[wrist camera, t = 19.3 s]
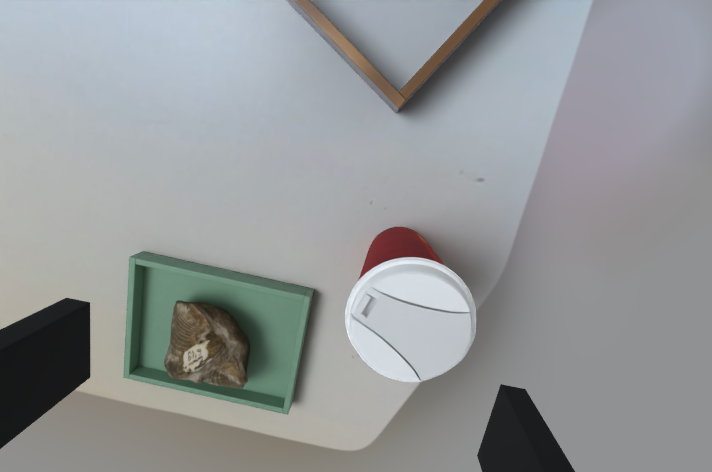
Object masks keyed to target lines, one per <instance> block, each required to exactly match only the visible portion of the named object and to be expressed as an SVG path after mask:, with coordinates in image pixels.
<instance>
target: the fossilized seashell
mask: <svg viewBox="0 0 712 472" xmlns="http://www.w3.org/2000/svg"><path fill="white" fill-rule="evenodd" d="M249 354H250V343H249V339H248V337H247V335H246V334H245V332H244V331H243V330H242V329H240V327H239V324H238V322H237V321H236V319H235V318H234V317H233V316H232V315H231V314H230V313H229V312H228V311H226V310H224V309H222V308H220V307H217V306H214V305H211V304H207V303H201V302H186V301H181V300H178V301H176V303H175V306H174V308H173V316H172V322H171V337H170V345H169V347H168V351H167V354H166V356H165V360H164V366H165V368H166V370H167V372H168V374H169V376H170V377H172V378H175V379H180V380H191V381H193V382H195V383H202V382H203V381H205V382H207V383H209V384H212V385H215V386H225V387H231V388H243V387H244V385H245V384H246V383H247V382H248V378H247V367H248V360H249Z"/></svg>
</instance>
